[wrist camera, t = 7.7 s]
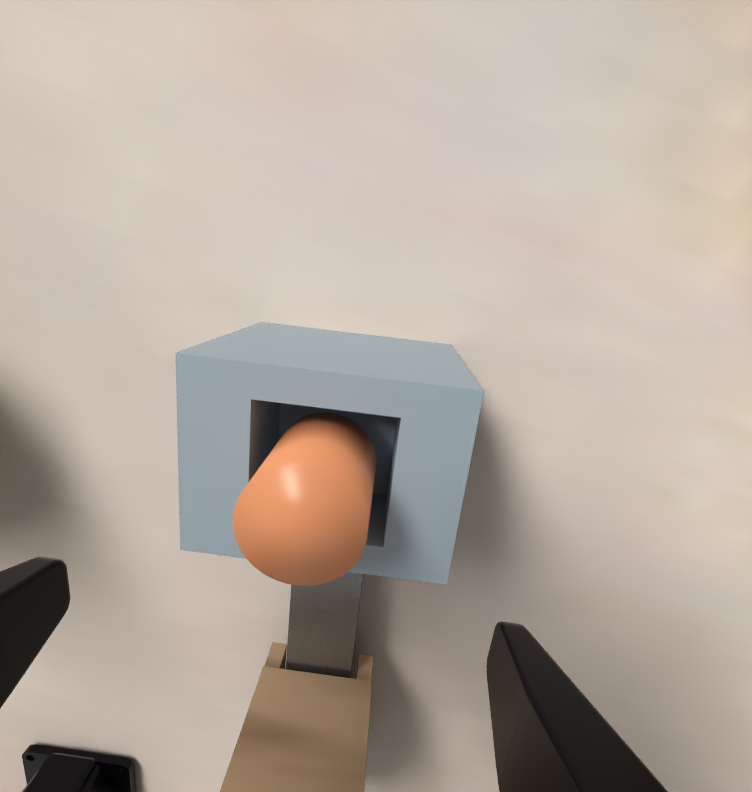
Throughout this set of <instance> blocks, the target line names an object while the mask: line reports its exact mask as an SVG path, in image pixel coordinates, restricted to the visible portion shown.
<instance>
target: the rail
mask: <svg viewBox="0 0 752 792" xmlns="http://www.w3.org/2000/svg"><path fill="white" fill-rule="evenodd" d="M362 578H363V574H360V573H352V572H347V573H346V574H344V575H343V576H341V577H339V578H337V579H336V580H333V581H331V582H328V583H324V584H320V585H313V586H299V585H291V600H290V615H289V631H288V646H287V661H286V669H287V670H294V671H301V672H309V673H316V674H323V675H331V676H338V677H345V678H350V675H351V667H352V659H353V651H354V643H355V635H356V626H357V618H358V610H359V602H360V594H361V586H362Z"/></svg>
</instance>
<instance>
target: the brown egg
mask: <svg viewBox="0 0 752 792" xmlns="http://www.w3.org/2000/svg"><path fill="white" fill-rule="evenodd" d="M375 470H376V453H375V449H374V446H373V443H372V441H371V439H370V437H369V436H368V435H367V433H366V432H365V431H364V430H363V429H362V428H361V427H360V426H359V425H358V424H357V423H355V422H354V421H352V420H351V419H349V418H346V417H344V416H341V415H338V414H333V413H315V414H310V415H307V416H305V417H302V418H300V419H299V420H297V421H296V422H294V423H293V424H292V425H291V426H290V427H289V428H288V429H287V430H286V431H285V433H284V434H283V436H282V437H281V438H280V440H279V441H278V442H277V444H276V445H275V447H274V448H273V449H272V451H271V452H270V454H269V455H268V456H267V458H266V459H265V460H264V462H263V463H262V465H261V466H260V467H259V469H258V470H257V472H256V473H255V474H254V476H253V477H252V479H251V480H250V481H249V483H248V484H247V485H246V487H245V488H244V490H243V491H242V493H241V494H240V496H239V497H238V499H237V502H236V504H235V508H234V512H233V531H234V536H235V539H236V541H237V544H238V546H239V548H240V550H241V551H242V553H243V554H244V556H245V557H246V558H247V559H248V561H249V562H250V563H251V564H252V565H253V566H254V567H256V568H257V569H258V570H259V571H261V572H262V573H264V574H265V575H267V576H269V577H271V578H273V579H275V580H278V581H280V582H283V583H287V584H292V585H299V586H313V585H320V584H324V583H328V582H331V581H333V580H336V579H337V578H339V577H341V576H343V575H344V574H346V573H347V572H348V571H349V570H350V569H351V568H352V567H353V566H354V565H355V564H356V563H357V562H358V560H359V559H360V557H361V555H362V553H363V551H364V548H365V546H366V541H367V534H368V526H369V518H370V510H371V502H372V494H373V486H374V478H375Z"/></svg>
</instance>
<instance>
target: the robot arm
mask: <svg viewBox="0 0 752 792" xmlns="http://www.w3.org/2000/svg"><path fill="white" fill-rule="evenodd" d="M69 603H70V591H69V582H68V574H67V567H66V564H65V563H64V561H62V560H60V559H53V558H46V557H37V558H34V559H31V560H28V561H26V562H23V563H21V564H18V565H16V566H13V567H11V568H8V569H6V570H3V571H1V572H0V708H1V707H2V705H3V704H4V702H5V701H6V700H7V698H8V697H9V695H10V694H11V693H12V691H13V690H14V688H15V687H16V685H17V684H18V682H19V681H20V679H21V678H22V676H23V675H24V674H25V672H26V671H27V669H28V668H29V666H30V665H31V663H32V662H33V660H34V659H35V657H36V656H37V654H38V653H39V651H40V650H41V649H42V647H43V646H44V644H45V643H46V641H47V640H48V638H49V637H50V635H51V634H52V632H53V631H54V629H55V628H56V626H57V625H58V623H59V622H60V621H61V619H62V618H63V616H64V615H65V613H66V611H67V609H68V606H69ZM487 681H488V690H489V700H490V710H491V720H492V730H493V739H494V749H495V759H496V768H497V776H498V784H499V790H500V792H668V791H667V790H666V789H665V788H664V787H663V785H662V784H661V783H660V782H659V781H658V780H657V779H656V777H655V776H654V775H653V774H652V773H651V772H650V771H649V769H648V768H647V767H646V766H645V765H644V764H643V762H642V761H641V760H640V759H639V758H638V757H637V756H636V754H635V753H634V752H633V751H632V750H631V749H630V747H629V746H628V745H627V744H626V743H625V742H624V741H623V739H622V738H621V737H620V736H619V735H618V734H617V733H616V731H615V730H614V729H613V728H612V727H611V726H610V724H609V723H608V722H607V721H606V720H605V719H604V718H603V716H602V715H601V714H600V713H599V712H598V711H597V709H596V708H595V707H594V706H593V705H592V704H591V703H590V701H589V700H588V699H587V698H586V697H585V696H584V695H583V693H582V692H581V691H580V690H579V689H578V688H577V686H576V685H575V684H574V683H573V682H572V681H571V680H570V678H569V677H568V676H567V675H566V674H565V673H564V671H563V670H562V669H561V668H560V667H559V666H558V665H557V663H556V662H555V661H554V660H553V659H552V658H551V657H550V655H549V654H548V653H547V652H546V651H545V650H544V648H543V647H542V646H541V645H540V644H539V643H538V642H537V640H536V639H535V638H534V637H533V636H532V635H531V633H530V632H529V631H528V630H527V629H526V628H525V627H524V626H523V625H520V624H516V623H509V622H499V623H497V625H496V627H495V630H494V634H493V638H492V642H491V646H490V650H489V654H488V658H487ZM22 759H23V764H24V770H25V776H26V781H27V786H26V787H25V789H24V790H23V791H22V792H136V791H135V778H134V765H133V762H132V761H131V760H130V759H128V758H124V757H117V756H110V755H103V754H96V753H89V752H82V751H75V750H68V749H61V748H54V747H47V746H40V745H30V746H29V747H28V748H27V749H26V751H25V752H24V753H23V754H22Z"/></svg>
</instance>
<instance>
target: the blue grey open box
mask: <svg viewBox="0 0 752 792" xmlns="http://www.w3.org/2000/svg"><path fill="white" fill-rule="evenodd" d="M176 384H177V426H178V467H179V509H180V550H186V551H194V552H201V553H209V554H216V555H224V556H231V557H239V558H246V557H245V556H244V554H243V553H242V551H241V550H240V548H239V546H238V544H237V541H236V539H235V536H234V531H233V512H234V508H235V504H236V502H237V499H238V497H239V496H240V494H241V493H242V491H243V490H244V488H245V487H246V485H247V484H248V483H249V481H250V480H251V479H252V477H253V476H254V474H255V473H256V472H257V470H258V469H259V467H260V466H261V465H262V463H263V462H264V460H265V459H266V458H267V456H268V455H269V454H270V452H271V451H272V449H273V448H274V447H275V445H276V444H277V442H278V441H279V440H280V438H281V437H282V436H283V434H284V433H285V431H286V430H287V429H288V428H289V427H290V426H291V425H292V424H293V423H294V422H296V421H297V420H299V419H300V418H302V417H305V416H307V415H310V414H315V413H333V414H338V415H341V416H344V417H346V418H349V419H351V420H352V421H354V422H355V423H357V424H358V425H359V426H360V427H361V428H362V429H363V430H364V431H365V432H366V433H367V435H368V436H369V437H370V439H371V441H372V443H373V446H374V449H375V453H376V470H375V478H374V486H373V494H372V502H371V510H370V518H369V526H368V534H367V541H366V546H365V548H364V551H363V553H362V555H361V557H360V559H359V560H358V562H357V563H356V564H355V565H354V566H353V567H352V568H351V569H350V570H349V571H348V572H352V573H360V574H367V575H375V576H383V577H390V578H398V579H405V580H413V581H420V582H428V583H436V584H443V585H447V581H448V576H449V571H450V566H451V560H452V555H453V550H454V545H455V540H456V534H457V529H458V524H459V519H460V514H461V508H462V503H463V498H464V493H465V488H466V482H467V477H468V472H469V467H470V462H471V456H472V451H473V446H474V441H475V436H476V430H477V425H478V420H479V415H480V410H481V404H482V399H483V394H484V390H483V388H482V387H481V386H480V384H479V383H478V381H477V380H476V378H475V377H474V376H473V374H472V373H471V371H470V370H469V369H468V367H467V366H466V364H465V363H464V361H463V360H462V359H461V357H460V356H459V354H458V353H457V352H456V350H455V349H454V347H453V346H452V345H446V344H438V343H429V342H421V341H413V340H404V339H396V338H388V337H379V336H371V335H363V334H354V333H346V332H338V331H329V330H321V329H313V328H304V327H296V326H288V325H279V324H271V323H263V322H260V323H258V324H255V325H252V326H249V327H247V328H244V329H241V330H238V331H235V332H233V333H230V334H227V335H224V336H222V337H219V338H216V339H213V340H211V341H208V342H205V343H202V344H199V345H197V346H194V347H191V348H188V349H186V350H183V351H180V352H177V353H176ZM246 559H247V558H246Z"/></svg>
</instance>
